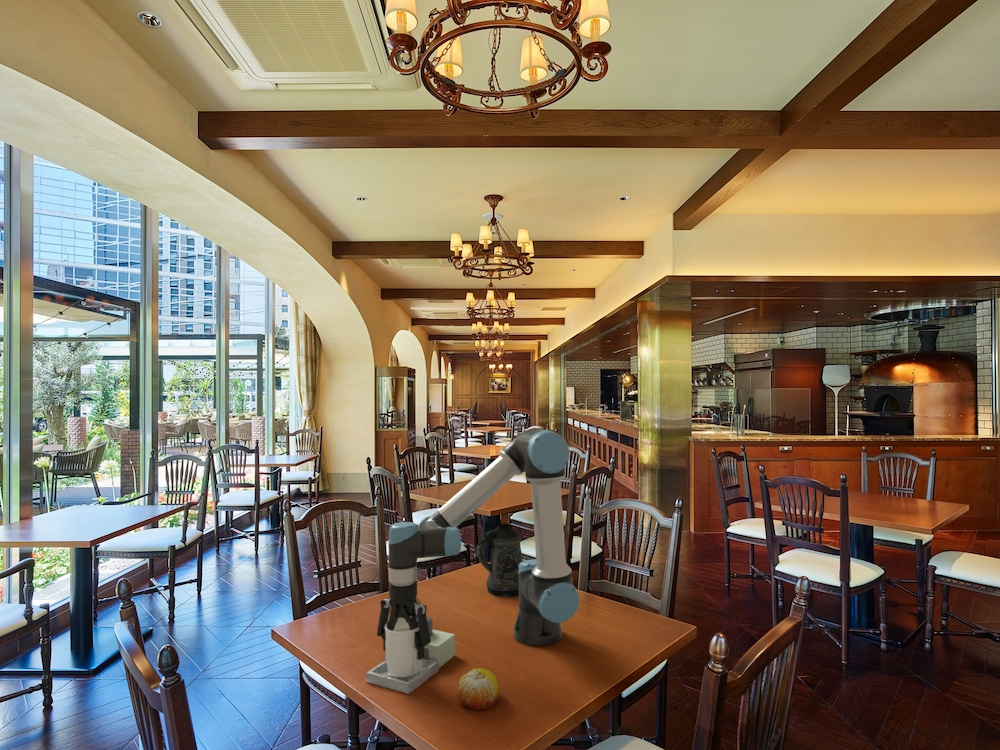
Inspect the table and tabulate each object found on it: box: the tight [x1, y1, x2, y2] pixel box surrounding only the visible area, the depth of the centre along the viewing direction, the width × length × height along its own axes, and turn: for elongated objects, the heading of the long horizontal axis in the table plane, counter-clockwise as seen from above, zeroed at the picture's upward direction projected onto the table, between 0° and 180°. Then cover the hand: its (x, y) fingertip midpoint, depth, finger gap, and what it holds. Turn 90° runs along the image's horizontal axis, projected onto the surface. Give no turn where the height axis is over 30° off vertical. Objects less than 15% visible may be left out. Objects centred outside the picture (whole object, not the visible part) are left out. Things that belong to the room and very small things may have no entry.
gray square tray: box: [365, 658, 440, 695], centre depth 150 cm, size 14×14×2 cm
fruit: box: [456, 667, 501, 711], centre depth 137 cm, size 11×10×8 cm
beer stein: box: [476, 523, 524, 598], centre depth 216 cm, size 16×19×25 cm
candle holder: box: [385, 618, 419, 677], centre depth 150 cm, size 10×10×12 cm
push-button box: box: [424, 615, 456, 668], centre depth 162 cm, size 18×9×10 cm, turn 62°
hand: (403, 667), depth 150 cm, fingers open, 9 cm apart
